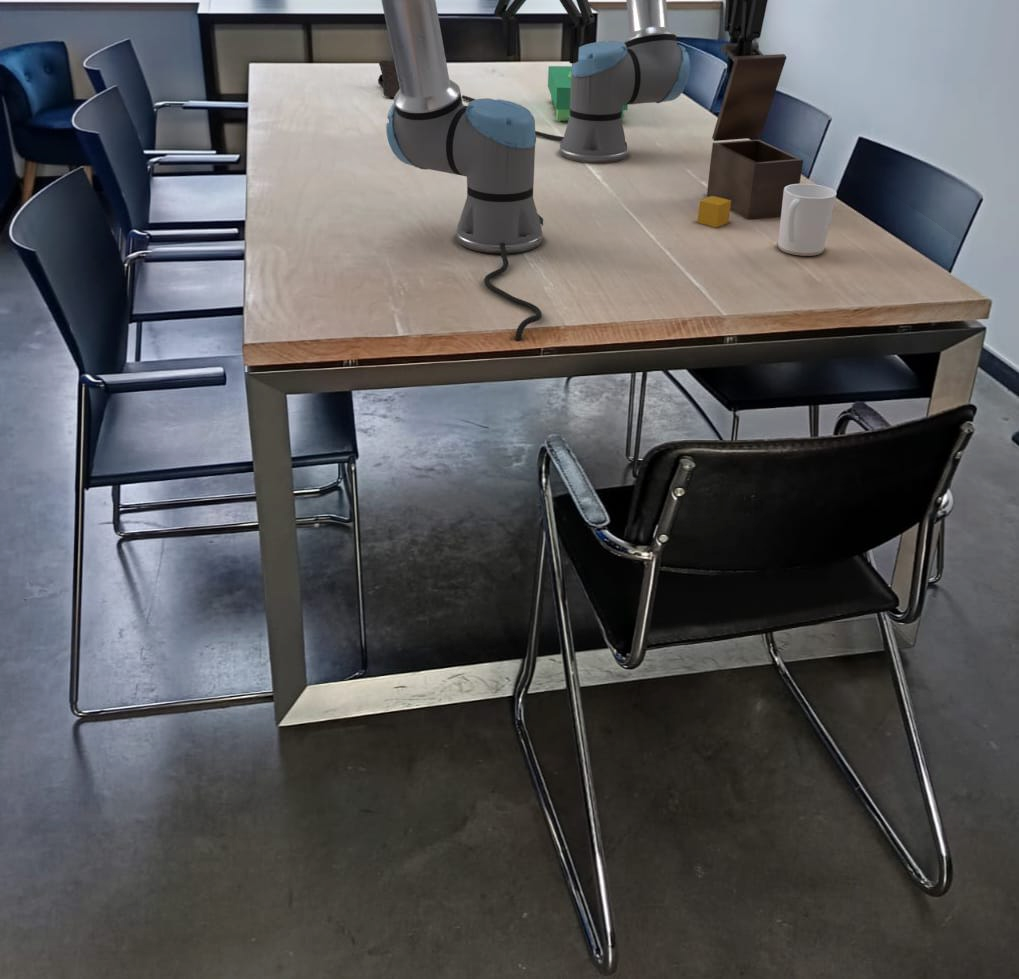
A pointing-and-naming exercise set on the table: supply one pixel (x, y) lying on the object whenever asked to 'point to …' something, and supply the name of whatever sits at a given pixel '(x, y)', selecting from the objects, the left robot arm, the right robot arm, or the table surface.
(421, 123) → the left robot arm
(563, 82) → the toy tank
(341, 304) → the table surface
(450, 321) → the table surface
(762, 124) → the lid
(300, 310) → the table surface
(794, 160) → the chest
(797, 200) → the mug
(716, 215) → the block
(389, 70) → the axe head
